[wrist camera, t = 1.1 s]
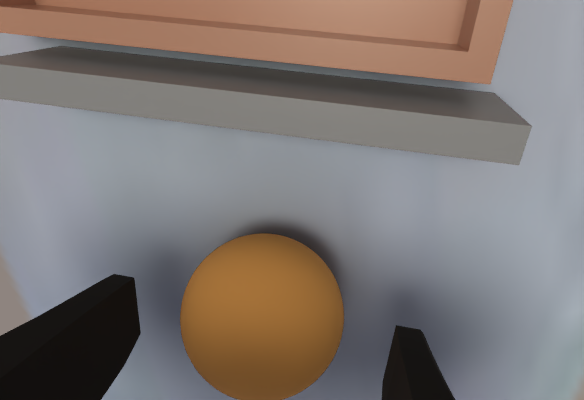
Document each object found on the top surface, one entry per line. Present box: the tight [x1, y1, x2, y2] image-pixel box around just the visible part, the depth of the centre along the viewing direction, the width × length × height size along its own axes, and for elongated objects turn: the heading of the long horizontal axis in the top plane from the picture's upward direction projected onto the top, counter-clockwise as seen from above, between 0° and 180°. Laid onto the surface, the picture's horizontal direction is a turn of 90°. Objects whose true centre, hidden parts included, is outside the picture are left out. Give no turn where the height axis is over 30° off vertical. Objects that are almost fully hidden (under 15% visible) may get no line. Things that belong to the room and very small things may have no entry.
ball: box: [180, 233, 344, 400], centre depth 12 cm, size 5×5×5 cm
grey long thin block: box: [0, 46, 532, 165], centre depth 11 cm, size 1×12×3 cm, turn 86°
